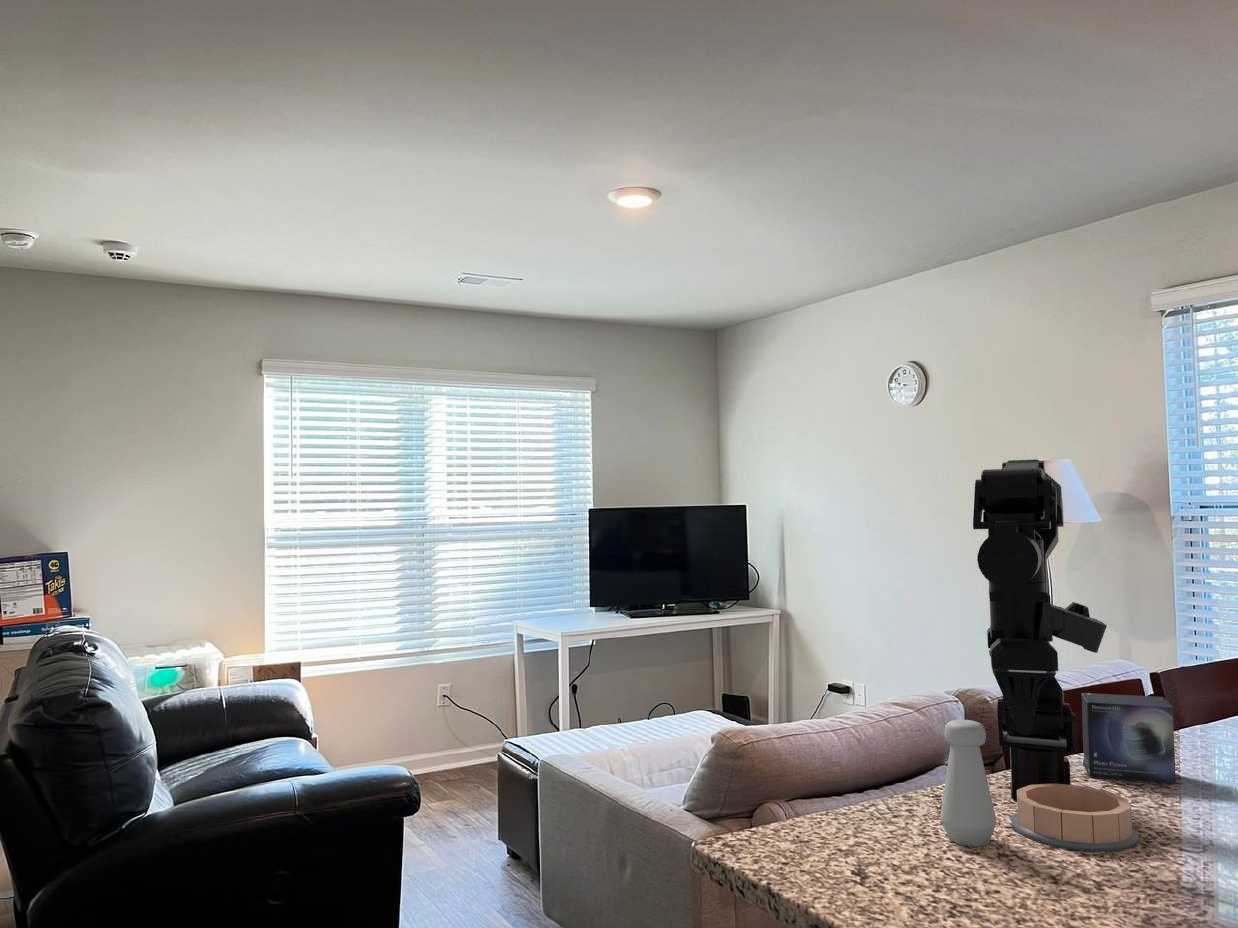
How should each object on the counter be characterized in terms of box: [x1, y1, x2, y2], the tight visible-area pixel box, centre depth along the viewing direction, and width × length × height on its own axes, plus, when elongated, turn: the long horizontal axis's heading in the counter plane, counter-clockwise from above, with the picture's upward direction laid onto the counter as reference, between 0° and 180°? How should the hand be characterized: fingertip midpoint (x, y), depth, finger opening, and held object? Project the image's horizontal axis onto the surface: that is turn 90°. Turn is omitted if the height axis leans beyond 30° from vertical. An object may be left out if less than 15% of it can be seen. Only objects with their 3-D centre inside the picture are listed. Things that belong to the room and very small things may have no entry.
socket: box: [1010, 784, 1140, 852], centre depth 104 cm, size 13×13×4 cm
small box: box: [1080, 692, 1177, 785], centre depth 126 cm, size 11×6×10 cm, turn 70°
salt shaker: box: [939, 719, 997, 848], centre depth 102 cm, size 6×6×13 cm
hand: (1022, 724), depth 100 cm, fingers open, 9 cm apart
